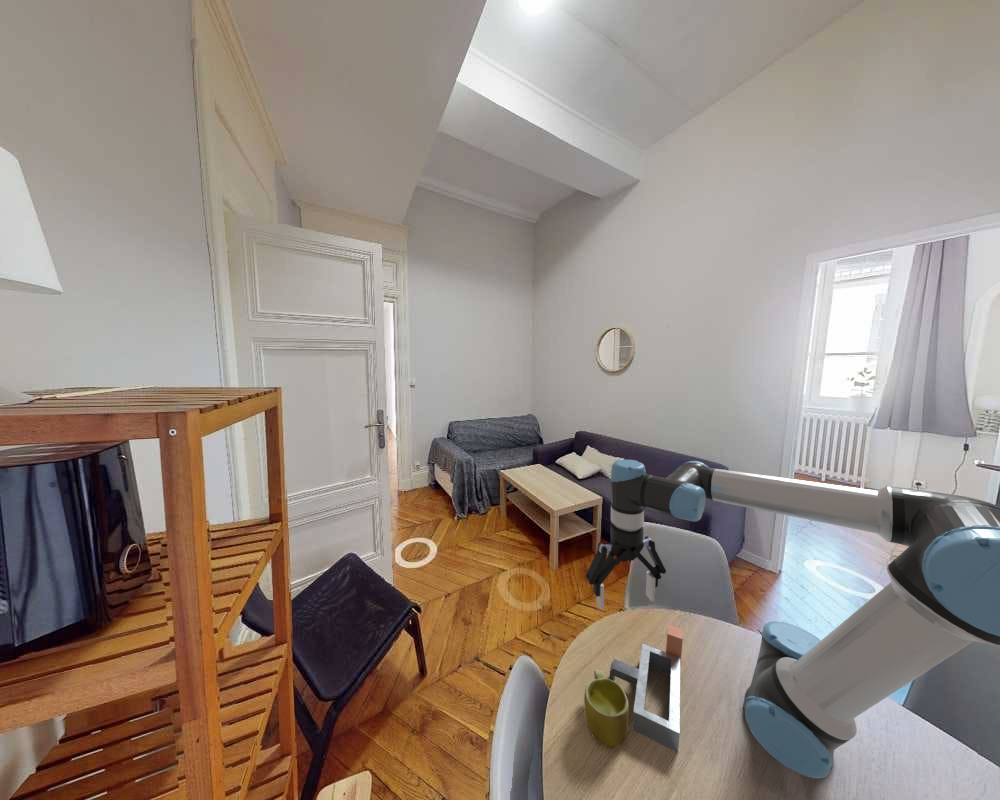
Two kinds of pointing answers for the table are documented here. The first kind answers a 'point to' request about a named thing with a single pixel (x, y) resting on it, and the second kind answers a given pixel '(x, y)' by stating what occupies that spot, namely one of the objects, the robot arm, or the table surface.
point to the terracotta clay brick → (674, 641)
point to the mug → (606, 711)
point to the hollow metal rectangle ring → (643, 719)
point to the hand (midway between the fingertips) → (625, 602)
